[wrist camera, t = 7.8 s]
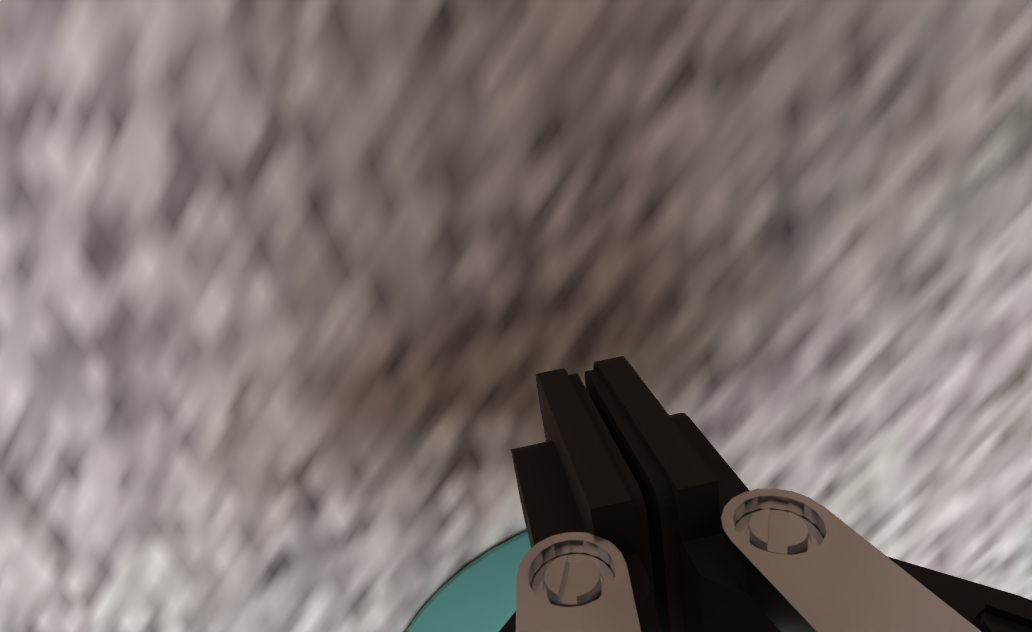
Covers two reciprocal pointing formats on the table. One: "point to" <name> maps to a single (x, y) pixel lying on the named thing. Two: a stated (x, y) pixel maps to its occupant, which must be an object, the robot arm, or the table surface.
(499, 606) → the disc
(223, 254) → the table surface
